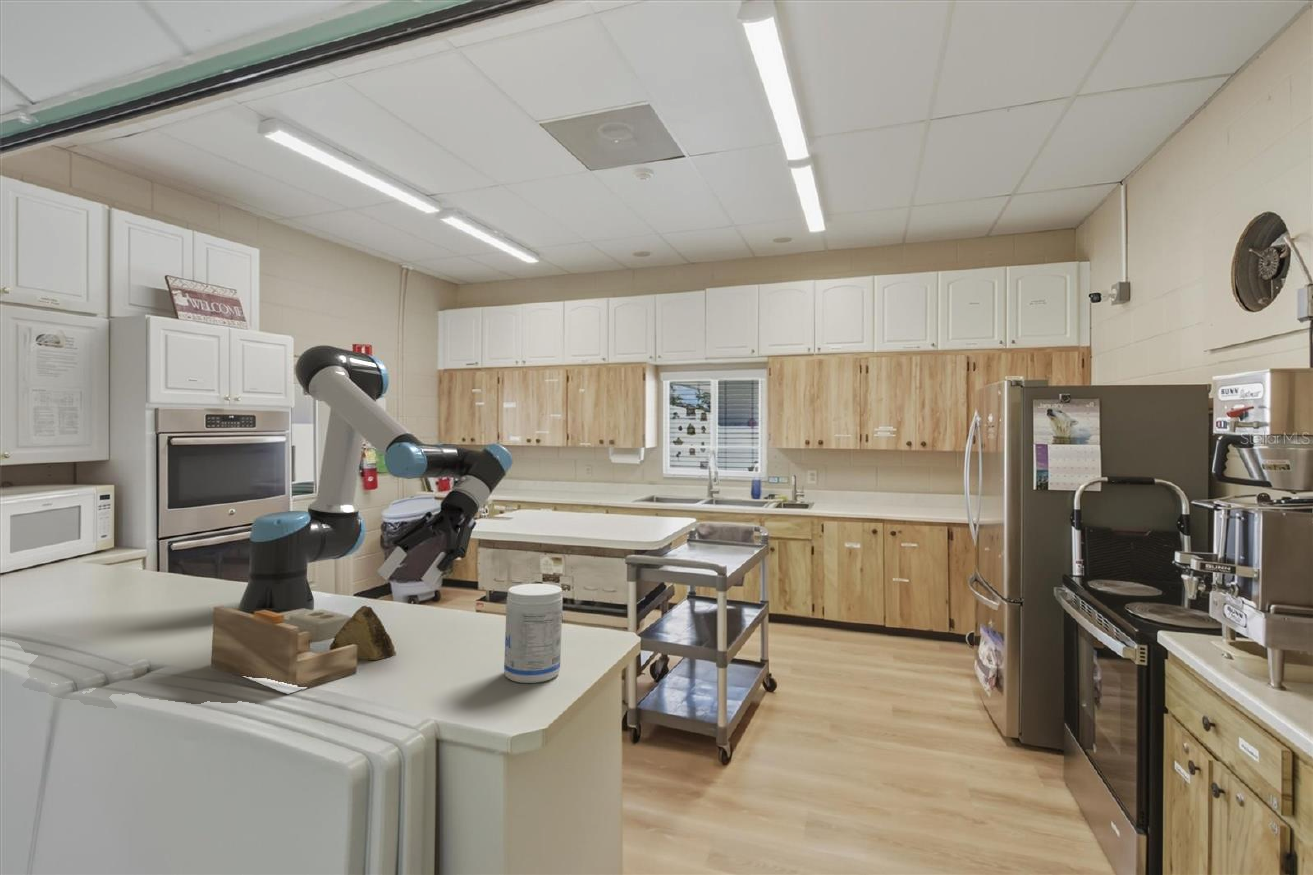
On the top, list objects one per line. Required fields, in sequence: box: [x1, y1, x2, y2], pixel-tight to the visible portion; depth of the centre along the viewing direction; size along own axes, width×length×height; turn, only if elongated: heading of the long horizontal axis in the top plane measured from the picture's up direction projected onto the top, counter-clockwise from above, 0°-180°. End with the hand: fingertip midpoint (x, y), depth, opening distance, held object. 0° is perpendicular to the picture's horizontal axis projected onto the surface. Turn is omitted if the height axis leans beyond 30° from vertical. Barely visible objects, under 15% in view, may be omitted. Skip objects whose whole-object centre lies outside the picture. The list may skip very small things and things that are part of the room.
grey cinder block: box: [279, 608, 352, 643], centre depth 125 cm, size 7×4×18 cm
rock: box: [329, 605, 397, 661], centre depth 110 cm, size 11×9×10 cm
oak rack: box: [210, 605, 358, 689], centre depth 102 cm, size 11×25×11 cm, turn 60°
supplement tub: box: [503, 583, 563, 684], centre depth 102 cm, size 10×10×15 cm
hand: (403, 579), depth 117 cm, fingers open, 13 cm apart
